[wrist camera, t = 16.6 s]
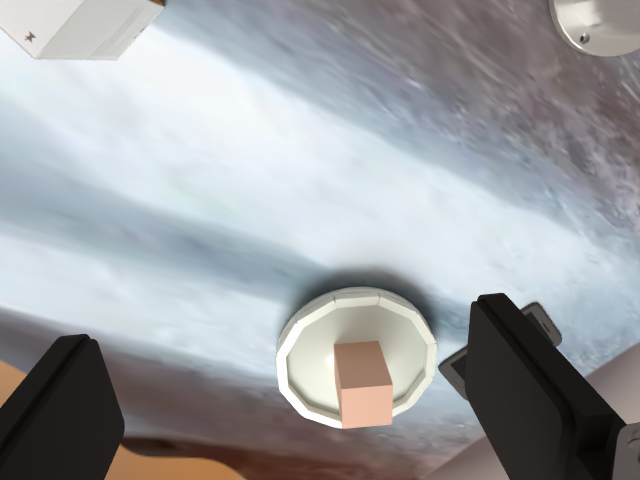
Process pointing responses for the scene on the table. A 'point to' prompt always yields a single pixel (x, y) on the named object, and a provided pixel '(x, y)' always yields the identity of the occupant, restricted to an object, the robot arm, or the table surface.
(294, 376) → the dish
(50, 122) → the table surface
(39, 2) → the small box
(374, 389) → the block
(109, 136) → the table surface
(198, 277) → the table surface
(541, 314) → the cell phone
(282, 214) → the table surface
